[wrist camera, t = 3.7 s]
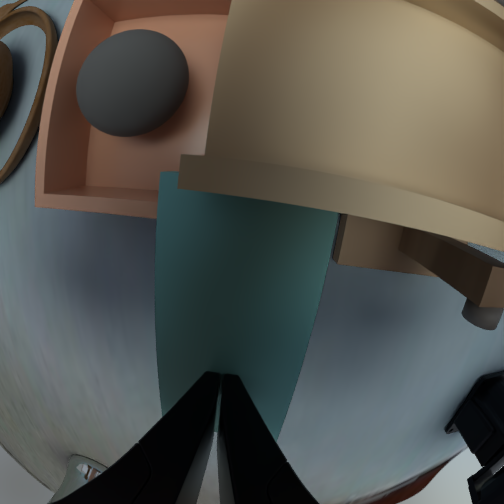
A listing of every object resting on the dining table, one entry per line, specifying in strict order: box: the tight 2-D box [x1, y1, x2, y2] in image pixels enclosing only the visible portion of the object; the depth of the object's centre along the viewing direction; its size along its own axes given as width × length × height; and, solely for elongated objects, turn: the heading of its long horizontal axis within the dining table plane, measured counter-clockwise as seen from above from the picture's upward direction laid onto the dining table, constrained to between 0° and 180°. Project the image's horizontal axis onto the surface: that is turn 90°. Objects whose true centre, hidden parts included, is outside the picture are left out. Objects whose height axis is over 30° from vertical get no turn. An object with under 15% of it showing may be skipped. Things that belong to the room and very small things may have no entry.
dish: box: [35, 0, 232, 219], centre depth 9 cm, size 9×9×4 cm
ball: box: [76, 29, 189, 137], centre depth 8 cm, size 4×4×4 cm
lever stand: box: [333, 0, 504, 330], centre depth 7 cm, size 7×12×7 cm, turn 172°
